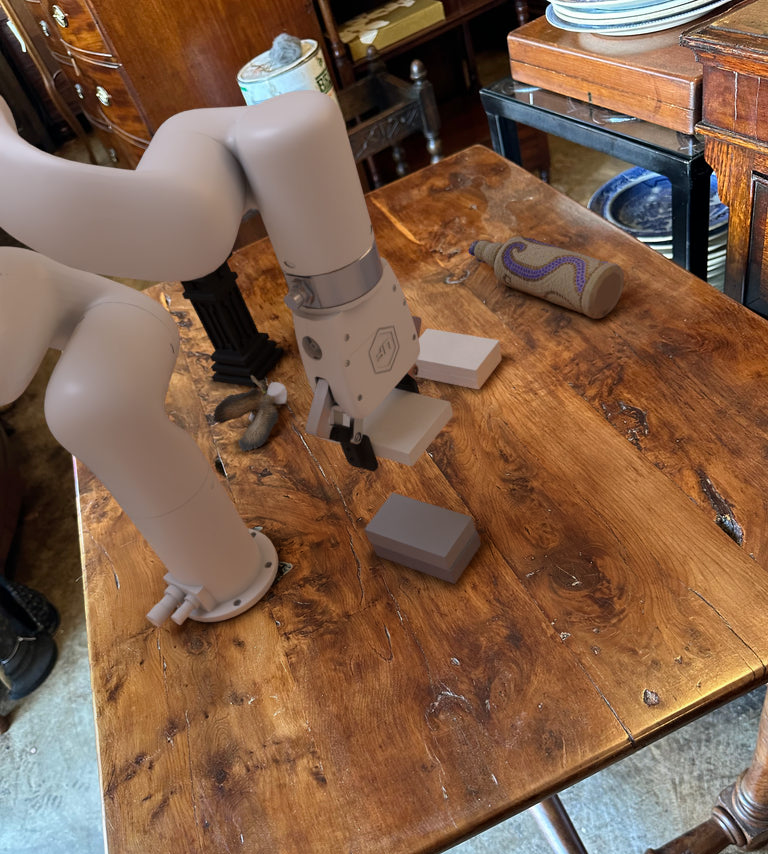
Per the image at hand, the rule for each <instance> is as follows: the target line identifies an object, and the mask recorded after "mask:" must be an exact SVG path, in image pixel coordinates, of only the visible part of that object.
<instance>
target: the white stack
mask: <svg viewBox="0 0 768 854" xmlns="http://www.w3.org/2000/svg"><path fill="white" fill-rule="evenodd" d="M418 340H419V344H420V354H419V356H418V359H417V360H416V363H415V364H416V365H417V366H418V368H419V372H418V375H417V377H416V378H421V379H425V380H430V381H436V382H441V383H445V384H448V385H449V384H450V385H455V386H460V387H464V388H469V389H474V390H480V389H481V388H482V386H483V385H484V384H485V383H486V381H487V380H488V379H489V377H490V376H491V375H492V373H493V372H494V371H495V369H496V368H497V366H499V364H500V363H501V361H502V354H501V351H502V347H501V342H500V340H499V339H495V338H488V337H483V336H476V335H470V334H464V333H459V332H458V333H457V332H451V331H446V330H442V329H441V330H439V329H433V328H426V329H425V330H424V332H422V334H421V335H420V336H419V339H418Z"/></svg>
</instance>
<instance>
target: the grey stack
mask: <svg viewBox="0 0 768 854" xmlns="http://www.w3.org/2000/svg"><path fill="white" fill-rule="evenodd" d="M476 529H477V528H476V525H475V523H474V518H473V516H471V515H468V514H464V513H461V512H457V511H454V510H451V509H448V508H445V507H442V506H439V505H435V504H431V503H428V502H426V501H423V500H422V501H421V500H419V499H415V498H411V497H409V496H405V495H402V494H398V493H396V492H391V493H390V494H389V496H388V497H387V499H385V502H384V503H383V504H382V505H381V507H380V508H379V509H378V511H377V512H376V513H375V515H374V516H373V517H372V519H371V520H370V521H369V522H368V524H367V525H366V526H365V528H364V529H363V531H364V532H365V535H366V538H367V539H368V542H369V543H370V544H371V546H372V547H373V548H372V549H373V550H374V553H375V555H376V556H377V557H379V558H383V559H385V560H387V561H390V562H393V563H396V564H398V565H401V566H404V567H406V568H409V569H412V570H415V571H418V572H421V573H422V574H426V575H428V576H431V577H435V578H437V579H440V580H443V581H445V582H448V583H451V584H452V585H453V584H454V585H456V584H457V582H458V580H459V579H460V577H461V576H462V574H463V573H464V571H465V570H466V568H467V567H468V565H469V564H470V562H471V561H472V559H473V558H474V556H475V555H476V553H477V552H478V550H479V549H480V547H481V545H482V543H481V538H480V535H479V532H478V531H477V530H476Z"/></svg>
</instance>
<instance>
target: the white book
mask: <svg viewBox="0 0 768 854" xmlns="http://www.w3.org/2000/svg"><path fill="white" fill-rule="evenodd" d="M453 416H454V411H453V407H452V403H451V401H448V400H443V399H440V398H436V397H432V396H428V395H425V394H421V393H420V394H416V393H412V392H408V391H404V390H400V389H396V388H393V390H392V391H391V392H390V393H389V394H388V395H387V396H386V397H385V399H384V400H383V401H382V402H381V403H380V404H379V405H378V406H377V407H376V408H375V410H374V411H373V412H371V413H370V414H369V415H368V416H366V417H365V418H363V434H364V435H367V436H368V437H369V438H370V441H371V445H372V448H373V451H374V454H375V456H376V457H379V458H382V459H385V460H389V461H392V462H396V463H397V464H401V465H405V466H409V467H414V465H415V464H416V463H417V461H418V460H419V459H420V458H421V457H422V455H423V454H424V453H425V451H426V450H427V449H428V448H429V447H430V445H431V444H432V442H433V441H434V440H435V439H436V437H437V436H438V435H439V434H440V433H441V431H442V430H443V428H445V426H446V425H447V424H448V423H449V421H450V420H451V419H452V417H453ZM329 424H330V417H329ZM343 425H344V426H348V427H350V417H349V416H348V415H346V414H345V413H343ZM314 437H315V438H316V439H320V440H324V441H326V442H331V443H333V444H337V445H339V446H341V444H340V442H336V441H333V440H328V439H324V438H320V437H316V436H314Z"/></svg>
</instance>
